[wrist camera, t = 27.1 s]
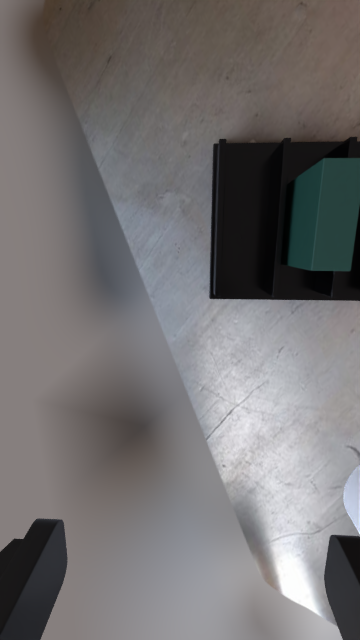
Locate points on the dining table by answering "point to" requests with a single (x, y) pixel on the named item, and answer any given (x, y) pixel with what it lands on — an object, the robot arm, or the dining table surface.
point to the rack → (268, 223)
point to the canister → (353, 497)
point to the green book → (322, 216)
